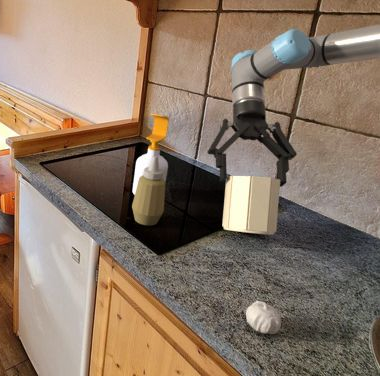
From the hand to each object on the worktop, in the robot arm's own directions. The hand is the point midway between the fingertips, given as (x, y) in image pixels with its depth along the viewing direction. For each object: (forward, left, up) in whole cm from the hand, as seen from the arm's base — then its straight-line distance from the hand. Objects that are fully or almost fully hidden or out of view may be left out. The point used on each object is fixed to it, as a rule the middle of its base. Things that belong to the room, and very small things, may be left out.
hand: (252, 182), depth 98 cm
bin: (-2, +5, -11) cm, 12 cm away
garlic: (-8, +35, -13) cm, 39 cm away
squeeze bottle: (+22, +9, -13) cm, 27 cm away
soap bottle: (+27, -7, -13) cm, 31 cm away
